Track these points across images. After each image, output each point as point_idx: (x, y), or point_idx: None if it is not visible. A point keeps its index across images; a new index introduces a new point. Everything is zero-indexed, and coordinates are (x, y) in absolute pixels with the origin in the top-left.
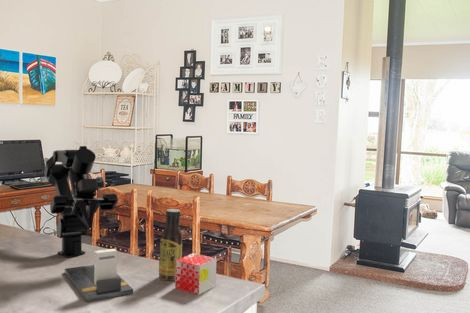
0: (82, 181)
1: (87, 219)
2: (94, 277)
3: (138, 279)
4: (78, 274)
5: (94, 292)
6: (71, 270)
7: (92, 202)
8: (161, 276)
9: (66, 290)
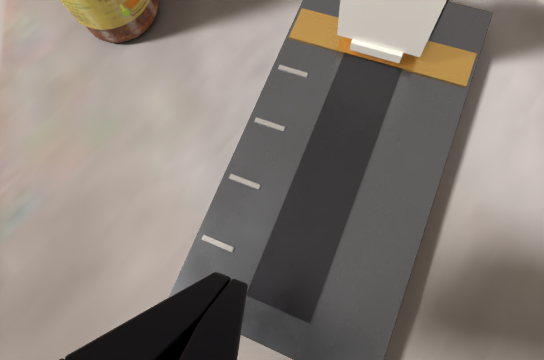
0: None
1: (213, 354)
2: (429, 35)
3: (202, 74)
4: (370, 254)
5: (442, 29)
6: (361, 337)
7: None
8: (153, 3)
9: (485, 169)
